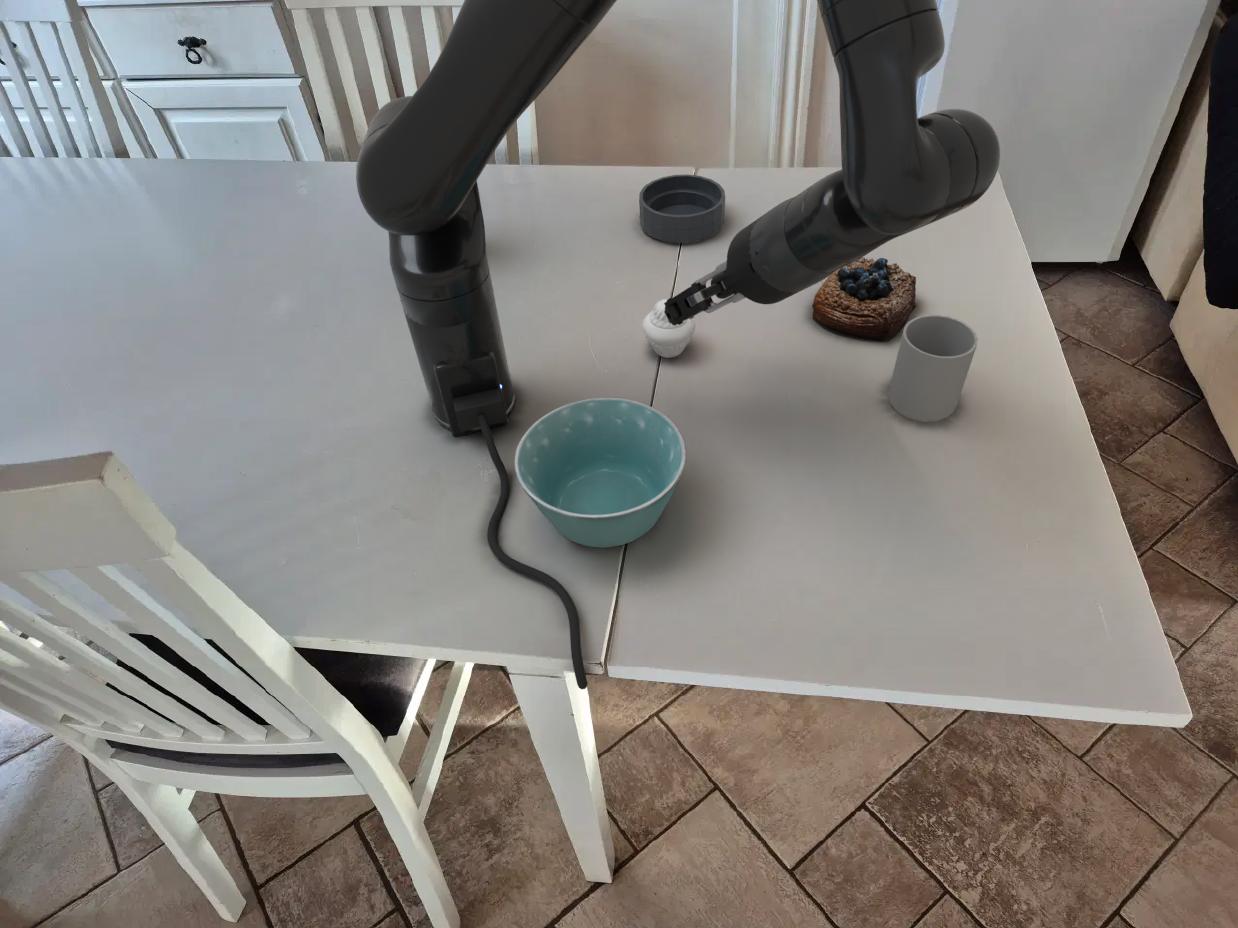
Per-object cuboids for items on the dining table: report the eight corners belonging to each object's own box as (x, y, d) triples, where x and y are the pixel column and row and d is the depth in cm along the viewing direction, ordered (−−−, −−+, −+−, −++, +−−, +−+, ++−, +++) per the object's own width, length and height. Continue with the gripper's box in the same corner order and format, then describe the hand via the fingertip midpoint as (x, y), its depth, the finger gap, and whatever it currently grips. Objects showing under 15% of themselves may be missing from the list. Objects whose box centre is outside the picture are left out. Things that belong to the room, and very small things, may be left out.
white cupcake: (640, 364, 96) (637, 315, 91) (646, 332, 100) (645, 284, 95) (692, 367, 95) (693, 318, 90) (697, 335, 99) (698, 287, 94)
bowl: (508, 480, 84) (495, 422, 78) (649, 437, 87) (646, 378, 81) (553, 597, 74) (542, 540, 68) (711, 543, 77) (714, 484, 71)
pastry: (923, 299, 102) (934, 258, 97) (888, 351, 95) (898, 310, 91) (840, 275, 106) (847, 235, 102) (801, 323, 100) (806, 283, 95)
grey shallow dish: (736, 236, 114) (737, 207, 111) (655, 253, 112) (654, 223, 109) (706, 197, 122) (707, 168, 119) (630, 212, 120) (629, 183, 117)
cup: (879, 412, 88) (895, 347, 82) (903, 359, 94) (919, 294, 87) (947, 431, 85) (969, 365, 79) (967, 375, 91) (989, 310, 85)
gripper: (827, 184, 74) (736, 245, 89) (707, 239, 69) (632, 293, 84) (862, 259, 75) (766, 306, 90) (746, 319, 69) (665, 359, 84)
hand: (701, 300), depth 87 cm, fingers open, 8 cm apart
